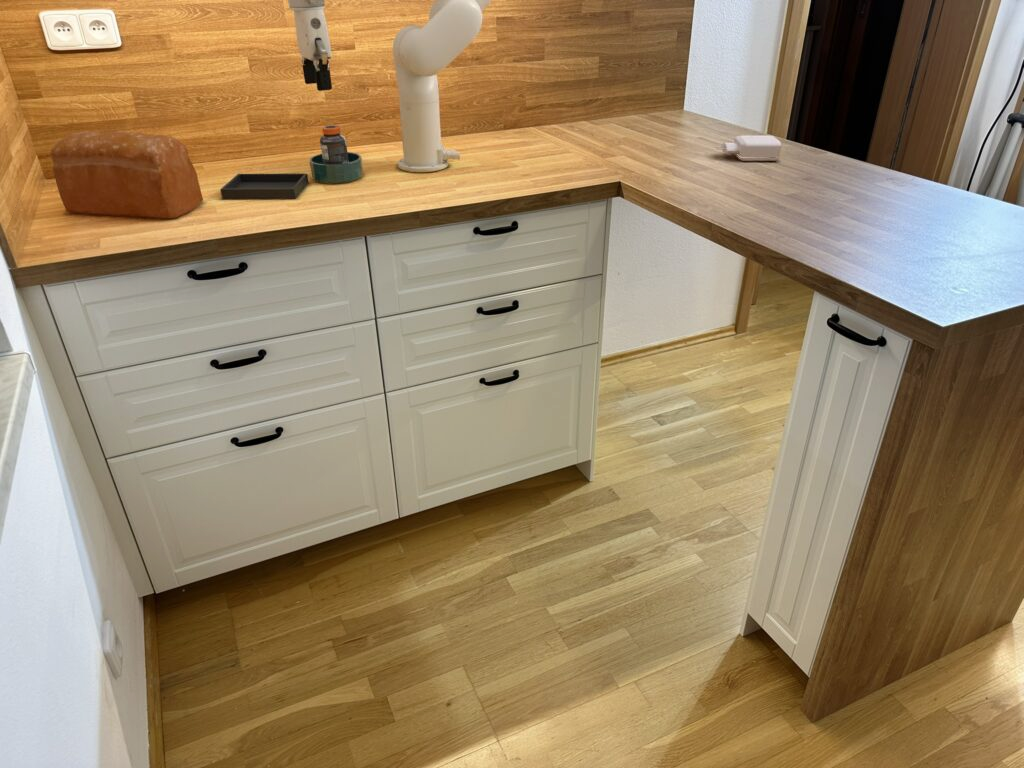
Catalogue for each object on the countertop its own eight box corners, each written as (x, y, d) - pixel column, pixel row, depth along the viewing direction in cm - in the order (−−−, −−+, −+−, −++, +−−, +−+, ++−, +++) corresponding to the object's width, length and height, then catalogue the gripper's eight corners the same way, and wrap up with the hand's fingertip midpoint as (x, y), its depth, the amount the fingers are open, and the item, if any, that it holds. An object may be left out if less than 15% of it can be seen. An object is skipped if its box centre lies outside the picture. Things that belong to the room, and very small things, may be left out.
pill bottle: (353, 172, 177) (347, 123, 171) (346, 179, 172) (340, 129, 166) (329, 171, 177) (322, 123, 171) (321, 178, 172) (314, 129, 166)
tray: (308, 182, 171) (307, 173, 170) (295, 198, 161) (294, 189, 160) (239, 182, 171) (237, 173, 170) (222, 199, 161) (220, 189, 160)
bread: (102, 195, 164) (79, 122, 155) (209, 201, 160) (192, 127, 151) (59, 215, 152) (32, 137, 144) (173, 222, 148) (153, 143, 140)
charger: (710, 152, 192) (768, 152, 192) (718, 162, 184) (778, 162, 184) (713, 134, 190) (771, 134, 190) (721, 143, 182) (782, 143, 182)
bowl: (367, 170, 180) (365, 151, 177) (358, 184, 170) (356, 165, 167) (318, 170, 180) (315, 151, 177) (306, 184, 170) (303, 165, 167)
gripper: (336, 3, 151) (346, 91, 160) (312, -3, 164) (323, 79, 173) (299, 5, 148) (312, 94, 157) (278, -1, 161) (291, 82, 170)
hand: (318, 86), depth 165 cm, fingers open, 9 cm apart
